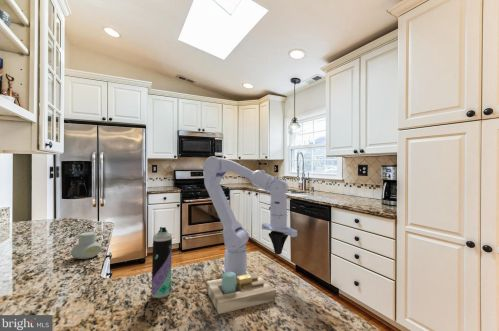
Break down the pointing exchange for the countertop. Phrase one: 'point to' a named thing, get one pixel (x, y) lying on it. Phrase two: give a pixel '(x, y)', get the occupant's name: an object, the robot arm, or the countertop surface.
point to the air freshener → (86, 246)
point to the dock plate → (240, 294)
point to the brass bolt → (244, 280)
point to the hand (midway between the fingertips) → (278, 253)
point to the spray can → (161, 263)
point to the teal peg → (228, 283)
